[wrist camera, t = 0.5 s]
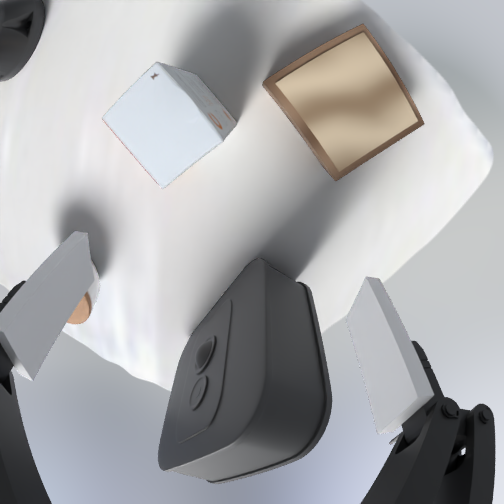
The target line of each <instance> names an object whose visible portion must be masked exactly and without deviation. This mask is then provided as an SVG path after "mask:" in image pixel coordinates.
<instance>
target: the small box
mask: <svg viewBox="0 0 504 504" xmlns="http://www.w3.org/2000/svg"><path fill="white" fill-rule="evenodd" d="M102 120H103V121H104V122H105V123H106V125H107V126H108V127H109V128H110V129H111V130H112V132H113V133H114V134H115V135H116V136H117V138H118V139H119V140H120V141H121V142H122V143H123V145H124V146H125V147H126V148H127V149H128V150H129V152H130V153H131V154H132V155H133V156H134V157H135V159H136V160H137V161H138V162H139V163H140V164H141V165H142V166H143V168H144V169H145V170H146V171H147V172H148V173H149V175H150V176H151V177H152V178H153V179H154V180H155V181H156V183H157V184H158V185H159V186H160V187H161V188H162V189H164V188H165V187H167V186H168V185H169V184H170V183H171V182H173V181H174V180H175V179H176V178H177V177H179V176H180V175H181V174H182V173H184V172H185V171H186V170H187V169H189V168H190V167H191V166H192V165H194V164H195V163H196V162H197V161H199V160H200V159H201V158H202V157H204V156H205V155H206V154H208V153H209V152H210V151H212V150H213V149H214V148H216V147H217V146H218V145H220V144H221V143H222V142H223V141H224V140H225V138H226V137H227V136H228V135H229V133H230V132H231V131H232V130H233V129H234V128H235V127H236V125H237V122H236V121H235V120H234V118H233V117H232V116H231V115H230V113H229V112H228V111H227V110H226V108H225V107H224V106H223V105H222V104H221V102H220V101H219V100H218V99H217V98H216V97H215V95H214V94H213V93H212V92H211V91H210V90H209V88H208V87H207V86H206V85H205V84H204V83H203V81H202V80H201V79H200V78H199V77H198V76H197V75H196V74H193V73H191V72H187V71H184V70H181V69H179V68H176V67H173V66H169V65H166V64H163V63H160V62H156V63H155V64H154V65H153V66H152V67H151V68H149V69H148V70H147V71H146V72H145V73H144V74H143V75H142V76H141V77H140V78H139V79H138V80H137V81H136V82H135V83H134V84H133V85H132V86H131V87H130V88H129V89H128V90H127V91H126V92H125V93H124V94H123V95H122V96H121V97H120V98H119V100H118V101H117V102H116V103H115V104H114V105H113V106H112V107H111V108H110V109H109V110H108V112H107V113H106V114H105V115H104V116H103V117H102Z"/></svg>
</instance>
